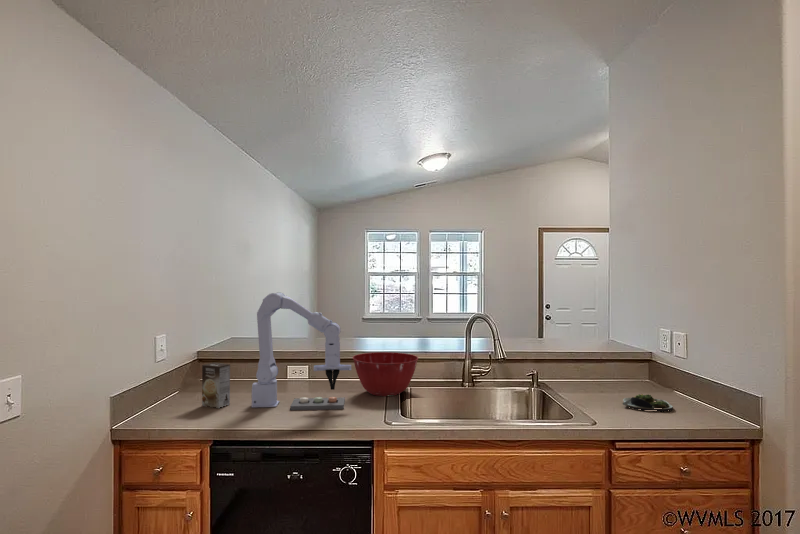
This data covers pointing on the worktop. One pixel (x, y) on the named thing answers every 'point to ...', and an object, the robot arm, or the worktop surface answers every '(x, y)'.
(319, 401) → the sage button
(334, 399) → the terracotta button
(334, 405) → the button panel
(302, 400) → the cream button
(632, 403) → the salad plate
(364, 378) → the mixing bowl
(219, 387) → the coffee box
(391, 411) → the worktop surface
